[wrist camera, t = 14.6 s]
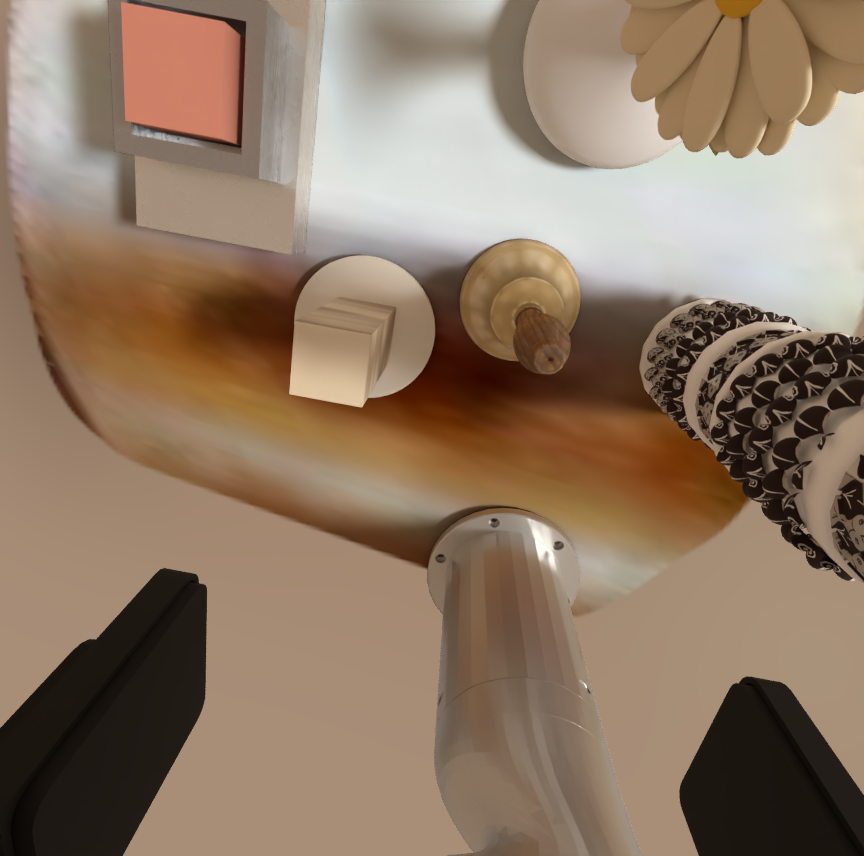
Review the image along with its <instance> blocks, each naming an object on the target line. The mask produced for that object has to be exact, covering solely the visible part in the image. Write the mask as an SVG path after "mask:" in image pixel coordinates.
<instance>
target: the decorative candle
mask: <svg viewBox="0 0 864 856" xmlns="http://www.w3.org/2000/svg"><path fill="white" fill-rule="evenodd" d="M639 370H640V374H641V378H642V382H643V386H644V389H645V390H646V392H647V393H648V394H649V395H650V397H651V398H652V399H653V400H654V401H655V402H656V403H657V405H658V406H660V408H661V410H662V412H664V413H668V417H669V419H670V420H672V421H677V422H678V425H679V427H680V428H681V429H682V430H684V431H687V434H688V436H689V437H690V438H691V439H693V440H696V441H697V440H703V441H704V444H705V445H706V446H707V447H708V448H710V449H712V450H714V452H715V455H716V456H717V461H719V462H720V463H721V464H723V465H724V466H725V467H726V468H727V469H728V471H729V472H730V476H731V478H732V479H734V480H736V481H738V482H744V483H743V486H742V488H743V492H744V494H745V495H746V496H747V497H748V498H749V499H751V500H754V501H757V502H760V503H762V511H763V513H764V515H765V516H766V517H767V518H768V519H769V520H770V521H772V522H773V523H776V524H779V525H782V527H781V533H782V536H783V537H784V539H785V540H786V541H787V542H789V543H791V544H793V545H794V546H795V547H796V548H797V549H799V550H802V551H806V559H807V561H808V563H809V564H810V565H811V566H812V567H813V568H816V569H819V570H831V569H833V570H834V572H835V573H836V574H837V575H838V576H839V577H841V578H842V579H844V580H847V581H854V580H859V581H861V582H864V337H861V338H859V337H857V338H856V337H851V336H849V335H847V334H845V333H841V332H816V331H811V330H810V329H808V328H806V327H799V326H797V324H796V322H795V320H794V319H792V318H790V317H788V316H780V317H779V316H778V315H777V314H775V313H773V312H766V313H765V312H764V311H763V310H762V309H760V308H758V307H753V306H748V305H746V304H742V303H737V304H736V303H733V302H731V301H728V300H718V299H700V300H697V301H694V302H691V303H688V304H685V305H682V306H680V307H677V308H675V309H674V310H673V311H672V312H670V313H669V314H668V315H667V316H665V317H664V318H663V319H662V320H660V321H659V322H658V323H657V324H656V325H655V326H654V328H653V330H652V331H651V333H650V335H649V336H648V338H647V340H646V341H645V343H644V345H643V348H642V354H641V360H640V365H639ZM806 527H807V530H808V532H809V533H810V534H807V535H806V534H805V533H803V531H802V530H801V529H803V528H806Z"/></svg>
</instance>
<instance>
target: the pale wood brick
mask: <svg viewBox="0 0 864 856" xmlns="http://www.w3.org/2000/svg"><path fill="white" fill-rule="evenodd" d="M395 314H396V307H393V306H387V305H382V304H377V303H371V302H366V301H360V300H355V299H350V298H344V297H338V298H336V299H334V300H332V301H331V302H329V303H327V304H325V305H323V306H321V307H320V308H318V309H316V310H314V311H312V312H310V313H308V314H307V315H305V316H303V317H301V318H299V319H297V320H295V325H294V338H293V352H292V365H291V378H290V392H289V394H292V395H297V396H302V397H308V398H313V399H319V400H324V401H330V402H335V403H340V404H346V405H351V406H357V407H363V405H364V403H365V402H366V400H367V398H368V397H369V395H370V393H371V391H372V390H373V388H374V386H375V385H376V383H377V381H378V380H379V378H380V376H381V375H382V373H383V371H384V369H385V368H386V366H387V364H388V362H389V355H390V349H391V342H392V335H393V328H394V321H395Z"/></svg>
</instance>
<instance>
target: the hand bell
mask: <svg viewBox="0 0 864 856" xmlns="http://www.w3.org/2000/svg"><path fill="white" fill-rule="evenodd" d="M580 301H581V293H580V285H579V281H578V277H577V275H576V272H575V270H574V268H573V267H572V265H571V264H570V262H569V261H568V260H567V258H566V257H564V256H563V255H562V254H561V253H560V252H559V251H558V250H556V249H555V248H553V247H552V246H550V245H548V244H546V243H543V242H540V241H536V240H531V239H517V240H510V241H506V242H503V243H500V244H498V245H496V246H494V247H492V248H491V249H489V250H487V251H486V252H485V253H484V254H482V255H481V256H480V257H479V258H478V259H477V260H476V261H475V262H474V264H473V265H472V266H471V268H470V269H469V271H468V273H467V275H466V277H465V279H464V281H463V284H462V288H461V293H460V314H461V319H462V322H463V325H464V328H465V330H466V331H467V333H468V335H469V336H470V338H471V339H472V340H473V342H474V343H475V344H476V345H477V346H478V347H480V348H481V349H482V350H483V351H485V352H486V353H488V354H490V355H492V356H494V357H496V358H499V359H503V360H509V361H519V362H520V363H521V364H522V365H523V366H524V367H525V368H526V369H528V370H530V371H532V372H534V373H538V374H554V373H556V372H558V371H559V370H560V369H561V368H562V367H563V365H564V364H565V362H566V361H567V359H568V357H569V353H570V348H571V342H570V336H569V333H570V331H571V330H572V328H573V326H574V324H575V322H576V319H577V317H578V314H579V309H580Z"/></svg>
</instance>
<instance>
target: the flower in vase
mask: <svg viewBox="0 0 864 856" xmlns="http://www.w3.org/2000/svg"><path fill="white" fill-rule="evenodd" d="M523 75H524V85H525V90H526V95H527V100H528V103H529V106H530V108H531V111H532V114H533V116H534V118H535V120H536V122H537V124H538V126H539V127H540V129H541V130H542V132H543V133H544V135H545V136H546V137H547V138H548V140H549V141H550V142H551V143H552V144H553V145H554V146H555V147H556V148H557V149H559V150H560V151H561V152H562V153H563V154H565V155H567V156H568V157H570V158H572V159H573V160H575V161H578V162H580V163H582V164H585V165H588V166H592V167H596V168H604V169H622V168H628V167H633V166H637V165H640V164H643V163H646V162H649V161H651V160H653V159H655V158H657V157H660V156H661V155H663V154H665V153H666V152H668V151H669V150H671V149H672V148H674V147H675V146H676V145H677V144H679V143H680V142H681V141H682V140H683V143H684V145H685V147H686V148H687V149H688V150H689V151H692V152H698V151H701V150H703V149H704V148H705V147H707V146H708V145H709V146H710V148H711V150H712V152H713V153H714V155H717V154H718V152H726V151H729V153H730V154H731V155H732V156H733V157H735V158H743V157H746V156H748V155H749V154H751V153H752V152H753V151H754V150H755V149H756V148H758V150H759V151H760V152H761V153H762V154H764V155H773V154H775V153H777V152H779V151H780V150H782V149H783V148H784V147H785V145H786V144H787V143H788V141H789V140H790V137H791V135H792V133H793V130H794V126H795V122H796V119H797V120H798V121H799V122H800V123H802V124H804V125H806V126H813V125H816V124H818V123H820V122H821V121H823V120H824V119H825V118H826V117H828V116H829V114H830V113H831V112H832V111H833V109H834V107H835V105H836V103H837V101H838V97H839V92H840V91H843V92H845V93H851V94H856V93H860V92H863V91H864V0H539V1H538V3H537V5H536V7H535V10H534V13H533V15H532V18H531V21H530V24H529V27H528V32H527V36H526V40H525V47H524V55H523Z"/></svg>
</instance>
